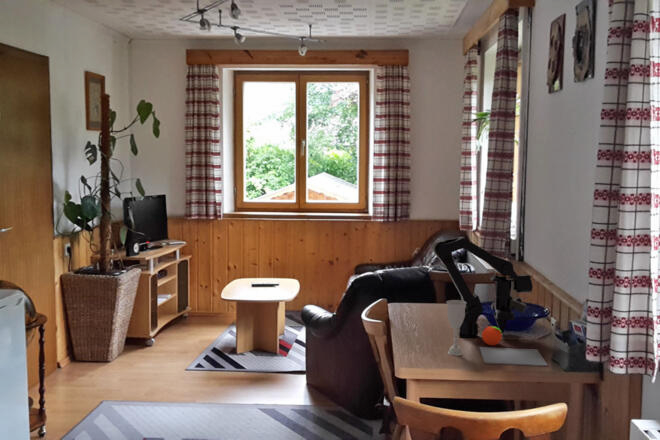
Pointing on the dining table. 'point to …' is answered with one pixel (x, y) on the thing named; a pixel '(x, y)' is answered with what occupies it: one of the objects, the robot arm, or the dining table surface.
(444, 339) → the dining table surface
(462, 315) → the chalice
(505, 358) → the mat
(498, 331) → the clementine
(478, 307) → the robot arm
